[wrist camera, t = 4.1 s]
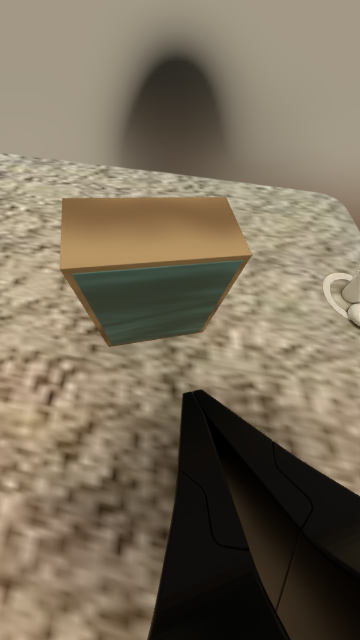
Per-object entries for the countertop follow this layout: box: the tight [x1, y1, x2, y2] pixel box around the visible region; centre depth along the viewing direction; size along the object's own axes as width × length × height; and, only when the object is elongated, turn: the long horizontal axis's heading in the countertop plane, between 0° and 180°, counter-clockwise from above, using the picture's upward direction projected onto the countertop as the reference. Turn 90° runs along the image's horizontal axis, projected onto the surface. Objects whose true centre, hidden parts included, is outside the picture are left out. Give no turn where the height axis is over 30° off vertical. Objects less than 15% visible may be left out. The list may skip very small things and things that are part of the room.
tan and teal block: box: [60, 197, 252, 347], centre depth 17 cm, size 5×10×12 cm, turn 102°
